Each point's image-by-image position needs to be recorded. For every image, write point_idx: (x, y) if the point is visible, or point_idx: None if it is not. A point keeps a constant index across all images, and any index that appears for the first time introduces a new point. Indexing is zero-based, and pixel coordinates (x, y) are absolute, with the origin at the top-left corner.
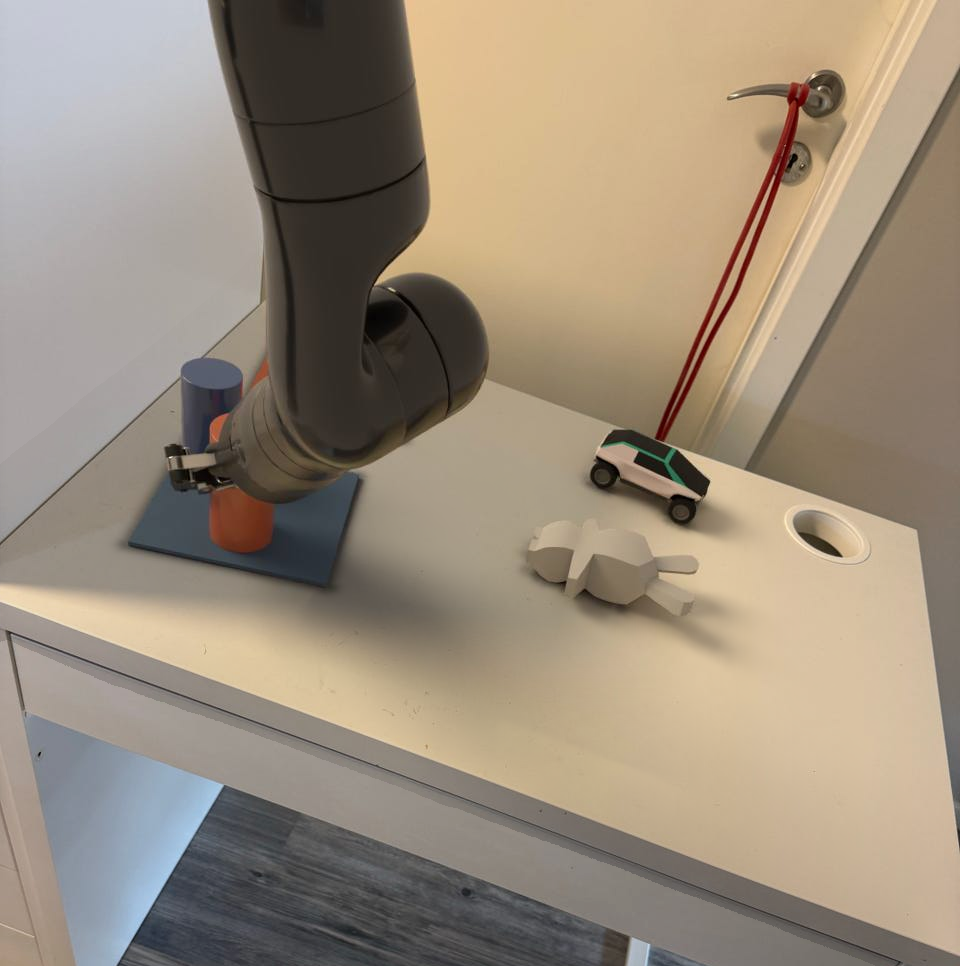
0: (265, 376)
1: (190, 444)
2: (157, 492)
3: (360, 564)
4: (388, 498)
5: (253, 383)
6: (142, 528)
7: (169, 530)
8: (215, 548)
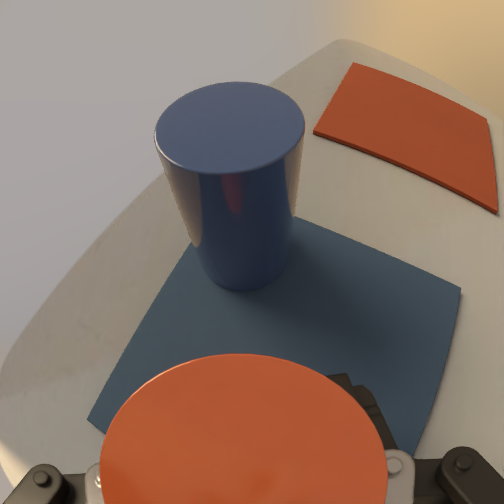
0: (341, 99)
1: (195, 247)
2: (146, 316)
3: None
4: (488, 337)
5: (327, 107)
6: (108, 397)
7: None
8: None
